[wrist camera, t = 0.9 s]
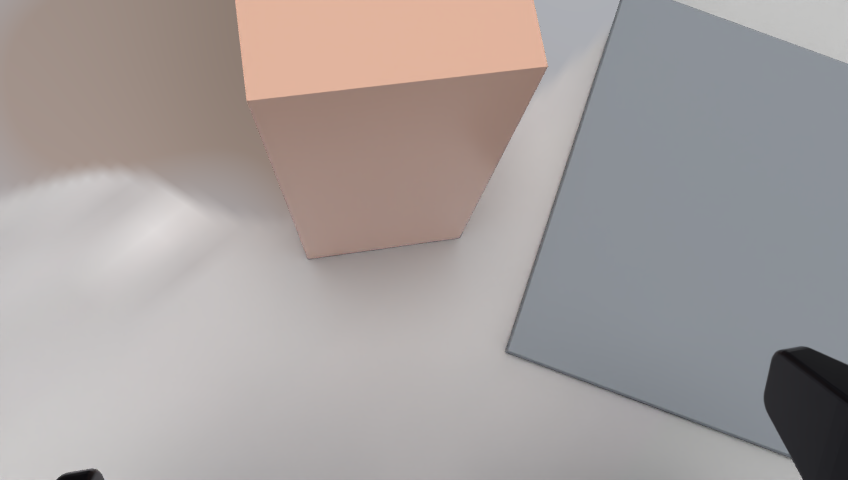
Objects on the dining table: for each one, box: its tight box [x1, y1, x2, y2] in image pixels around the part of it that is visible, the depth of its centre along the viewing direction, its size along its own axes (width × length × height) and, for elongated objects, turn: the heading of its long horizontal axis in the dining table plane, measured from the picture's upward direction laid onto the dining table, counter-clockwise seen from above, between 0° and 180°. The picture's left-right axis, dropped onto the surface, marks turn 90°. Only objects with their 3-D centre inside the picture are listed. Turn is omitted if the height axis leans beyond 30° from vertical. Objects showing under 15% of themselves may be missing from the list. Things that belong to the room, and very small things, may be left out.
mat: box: [505, 0, 848, 458], centre depth 24 cm, size 14×14×1 cm
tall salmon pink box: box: [235, 0, 548, 259], centre depth 18 cm, size 5×5×12 cm
